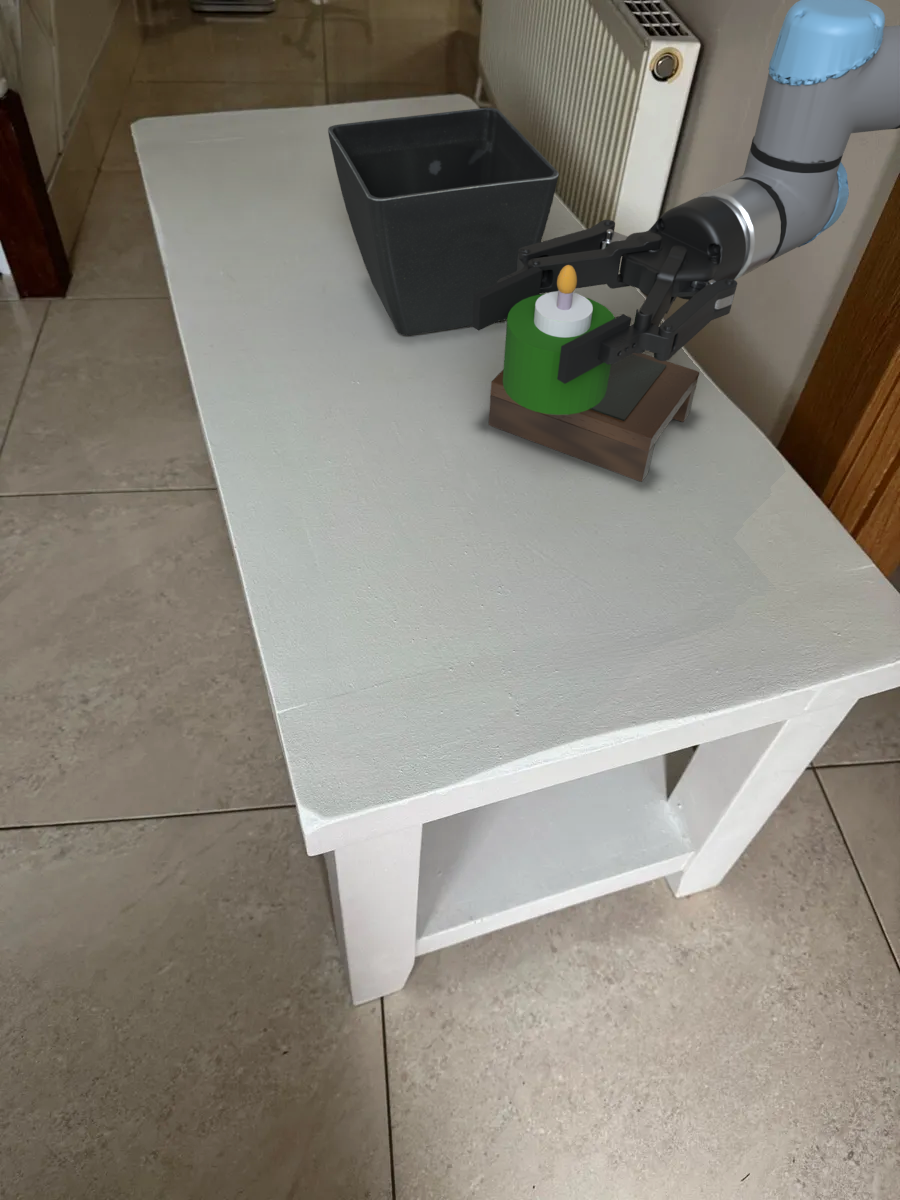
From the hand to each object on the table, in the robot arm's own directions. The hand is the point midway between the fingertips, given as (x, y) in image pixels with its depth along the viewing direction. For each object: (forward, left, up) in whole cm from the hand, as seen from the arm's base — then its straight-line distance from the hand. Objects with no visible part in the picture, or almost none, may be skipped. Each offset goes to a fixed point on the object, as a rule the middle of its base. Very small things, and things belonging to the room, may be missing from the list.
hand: (518, 338), depth 67 cm
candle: (-1, -4, -6) cm, 8 cm away
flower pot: (+24, -28, -18) cm, 41 cm away
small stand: (0, -17, -18) cm, 25 cm away
